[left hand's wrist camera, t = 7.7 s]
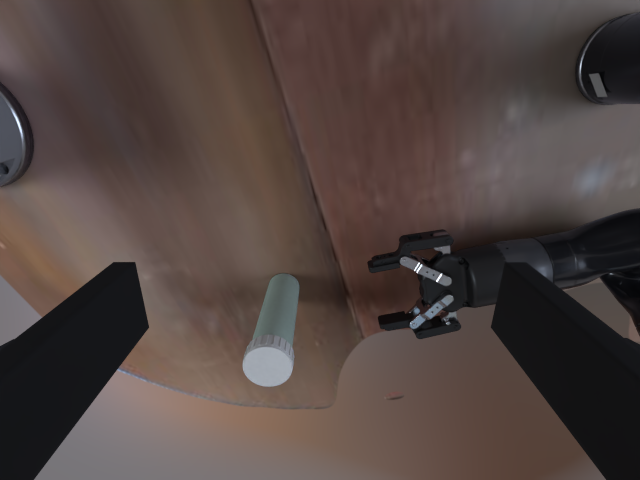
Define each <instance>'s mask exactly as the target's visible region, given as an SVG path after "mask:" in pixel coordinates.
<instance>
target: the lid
mask: <svg viewBox="0 0 640 480" xmlns="http://www.w3.org/2000/svg"><path fill="white" fill-rule="evenodd" d="M293 365H294V350H293V349H292V347H291V345H290V344H289V343H288V342H287V341H286V340H285V339H283V338H282V337H279V336H276V335H269V334H268V335H261V336H259V337H257V338H255V339H254V340H252V341H251V342H250V344H249V345H248V346H247V349H246V352H245V355H244V358H243V371H244V373H245V375H246V376H247V378H248V379H249V380H251V381H252V382H254V383H255V384H258V385H261V386H266V387H271V386H277V385H280V384H282V383H284V382H285V381H286V380H287V379H288V378H289V377H290V375H291V373H292V370H293Z"/></svg>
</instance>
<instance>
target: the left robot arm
mask: <svg viewBox="0 0 640 480" xmlns="http://www.w3.org/2000/svg"><path fill="white" fill-rule="evenodd" d="M33 148H34V145H33V135H32V130H31V127H30V124H29V121H28V119H27V116H26V114H25V112H24V110H23V109H22V107H21V105H20V104H19V102H18V101H17V100H16V98H15V97H14V96H13V95H12V93H11V92H10V91H9V90H8V89H7V88H6V87H5V86H4V85H3V84H2V83H1V82H0V187H1V186H5V185H8V184H11V183H13V182H15V181H16V180H18V179H19V178H20V177H21V176H22V175H23V174H24V173H25V172H26V170H27V169H28V167H29V165H30V163H31V160H32V156H33ZM148 328H149V325H148V320H147V316H146V311H145V306H144V301H143V297H142V292H141V287H140V283H139V278H138V273H137V269H136V264H135V262H113V263H112V264H111V265H109V266H108V267H107V268H106V269H104V270H103V271H102V272H100V273H99V274H98V275H97V276H95V277H94V278H93V279H91V280H90V281H89V282H88V283H86V284H85V285H84V286H82V287H81V288H80V289H79V290H77V291H76V292H75V293H73V294H72V295H71V296H70V297H68V298H67V299H66V300H64V301H63V302H62V303H61V304H59V305H58V306H57V307H55V308H54V309H53V310H52V311H50V312H49V313H48V314H46V315H45V316H44V317H43V318H41V319H40V320H39V321H38V322H36V323H35V324H34V325H32V326H31V327H30V328H29V329H27V330H26V331H25V332H23V333H22V334H21V335H19V336H18V337H17V338H16V339H13V340H11V341H9V342H7V343H5V344H3V345H2V346H0V480H34V479H35V477H36V476H37V475H38V473H39V472H40V471H41V469H42V468H43V467H44V465H45V464H46V463H47V461H48V460H49V459H50V458H51V456H52V455H53V454H54V452H55V451H56V450H57V448H58V447H59V446H60V444H61V443H62V442H63V440H64V439H65V438H66V436H67V435H68V434H69V432H70V431H71V430H72V428H73V427H74V426H75V424H76V423H77V422H78V421H79V419H80V418H81V417H82V415H83V414H84V412H85V411H86V410H87V409H88V407H89V406H90V405H91V403H92V402H93V401H94V399H95V398H96V397H97V395H98V394H99V393H100V391H101V390H102V389H103V387H104V386H105V385H106V384H107V382H108V381H109V380H110V378H111V377H112V376H113V374H114V373H115V372H116V370H117V369H118V368H119V366H120V365H121V364H122V362H123V361H124V360H125V358H126V357H127V356H128V354H129V353H130V352H131V351H132V349H133V348H134V347H135V345H136V344H137V343H138V341H139V340H140V339H141V337H142V336H143V335H144V333H145V332H146V331H147V329H148ZM491 328H492V329H493V331H494V332H495V333H496V335H497V336H498V337H499V339H500V340H501V341H502V343H503V344H504V345H505V347H506V348H507V349H508V350H509V352H510V353H511V354H512V356H513V357H514V358H515V360H516V361H517V362H518V364H519V365H520V366H521V368H522V369H523V370H524V372H525V373H526V374H527V376H528V377H529V378H530V380H531V381H532V382H533V383H534V385H535V386H536V387H537V389H538V390H539V391H540V393H541V394H542V395H543V397H544V398H545V399H546V401H547V402H548V403H549V405H550V406H551V407H552V409H553V410H554V411H555V413H556V414H557V415H558V417H559V418H560V419H561V420H562V422H563V423H564V424H565V426H566V427H567V428H568V430H569V431H570V432H571V434H572V435H573V436H574V438H575V439H576V440H577V442H578V443H579V444H580V446H581V447H582V448H583V450H584V451H585V452H586V454H587V455H588V456H589V457H590V459H591V460H592V461H593V463H594V464H595V465H596V467H597V468H598V469H599V471H600V472H601V473H602V475H603V476H604V477H605V479H606V480H640V344H638V343H636V342H634V341H632V340H630V339H628V338H623V337H622V336H621V335H619V334H618V333H616V332H615V331H614V330H613V329H612V328H610V327H609V326H608V325H606V324H605V323H604V322H602V321H601V320H600V319H599V318H597V317H596V316H595V315H593V314H592V313H591V312H590V311H588V310H587V309H586V308H585V307H583V306H582V305H581V304H579V303H578V302H577V301H576V300H574V299H573V298H572V297H570V296H569V295H568V294H567V293H565V292H564V291H563V290H561V289H560V288H559V287H558V286H556V285H555V284H554V283H552V282H551V281H550V280H549V279H547V278H546V277H545V276H543V275H542V274H541V273H540V272H538V271H537V270H536V269H534V268H533V267H532V266H531V265H529V264H528V263H527V262H505V264H504V269H503V273H502V278H501V283H500V287H499V292H498V297H497V302H496V306H495V311H494V316H493V320H492V325H491Z"/></svg>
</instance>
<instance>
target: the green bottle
mask: <svg viewBox="0 0 640 480" xmlns="http://www.w3.org/2000/svg"><path fill="white" fill-rule="evenodd" d="M299 288H300V287H299V283H298V281H297V279H296V278H295V277H293V276H292V275H290V274H286V273H282V274H277V275H275V276H274V277H273V278H272V279H271V280H270V282H269V285H268V289H267V292H266V296H265V299H264V302H263V306H262V309H261V313H260V316H259V319H258V323H257V326H256V329H255V333H254V336H253V340H254V339H255V338H257V337H259V336H261V335H268V334H269V335H276V336H279V337H282V338H283V339H285V340H286V341H287V342H288V343H289V344H290V345H291V347H292V345H293V337H294V329H295V321H296V313H297V305H298V297H299Z"/></svg>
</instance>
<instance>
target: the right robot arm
mask: <svg viewBox="0 0 640 480" xmlns="http://www.w3.org/2000/svg"><path fill="white" fill-rule="evenodd" d="M576 81H577V85H578V88H579V90H580V91H581V93H582V94H583V95H584V96H585V97H586V98H587V99H588V100H590V101H592V102H594V103H597V104H603V105H612V104H640V12H638V13H634V14H628V15H624V16H620V17H617V18H614V19H612V20H610V21H608V22H606V23H605V24H603V25H602V26H600V27H599V28H598V29H597V30H596V31H595V32H594V33H593V34H592V35H591V36H590V37H589V38H588V40H587V41H586V43H585V44H584V46H583V48H582V50H581V52H580V54H579V57H578V60H577V64H576ZM399 242H400V243H399V247H398V250H397V251H395V252H392V253H387V254H382V255H377V256H374V257H372V260H370V261H368V268H369V271H370V272H371V273H375V272H380V271H385V270H390V269H396V268H400V265H403V266H405V267H408V268H410V269H412V270H414V271H415V272H417V275H418V279H419V281H420V288H419V289H420V294H421V297H420V298H419V299H418V300H417V301H416V304H415V306H413V307H412V308H411V309H410V310H409V311H408V312H407V313H406V314H405V312H404V311H402V312H397V313H391V314H386V315H381V316H379V317H378V321H379V325H380V328H381V329H385V330H387V331H390V330H396V329H401V328H411V329H412V330H413V331H414V333H415V335H416V337H417V338H418V339H423V338H427V337H432V336H436V335H441V334H445V333H449V332H453V331H458V330H459V329H460V328H461V325H460V323H459V321H458V320H457V314H456V311H457V310H459V309H460V308H462V307H472V308H476V307H481V306H487V305H493V304H496V302H497V297H498V292H499V287H500V283H501V278H502V273H503V269H504V264H505V262H527V263H528V264H529V265H531V266H532V267H533V268H534V269H536V270H537V271H538V272H540V273H541V274H542V275H543V276H545V277H546V278H547V279H549V280H550V281H551V282H552V283H554V284H555V285H556V286H558V287H559V288H560V289H561V290H563V289H568V288H573V287H578V286H581V285H584V284H587V283H589V282H591V281H593V280H595V279H597V278H599V277H600V279H601V280H602V281H603V283H604V284H605V285H606V286H607V288H608V289H609V290H610V291H611V293H612V294H613V295H614V297H615V298H616V299H617V300H618V302H619V303H620V304H621V305H622V306H623V307H624V308H625V309H626V311H627V312H628V313H629V314H630V316H631V317H632V320H633V322H634V325H635V327H637V328H636V329H637V331H638V334H639V336H640V208H638V209H631V210H626V211H623V212H619V213H616V214H613V215H610V216H607V217H604V218H601V219H598V220H595V221H593V222H590V223H587V224H584V225H582V226H579V227H577V228H574V229H572V230H569V231H565V232H560V233H553V234H548V235H543V236H538V237H533V238H527V239H514V240H507V241H498V242H496V243H492V244H487V245H481V246H476V247H471V248H466V249H461V250H458V251H456V252H450V245H451V244H452V243H453V238H452V237H451V236H450V235H449V234H448V233H447V232H446V231H445V230H436V231H429V232H422V233H416V234H409V235H403V236H401V237H400V238H399ZM429 248H434V250H436V251H440V252H439V253H437V254H436V255H435V256H434V257H433V258H432V259H431V260H428V259H426V258H424V257H422V256H419V255H417V254H412V253H411V251H415V250H422V249H429ZM427 305H430V306H429V307H427ZM440 310H444V311H446V312H445V313H444V312H442V313H441V315H439V316H435V315H436V314H437V313H438V312H439V311H440ZM434 316H435V317H434Z"/></svg>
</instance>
